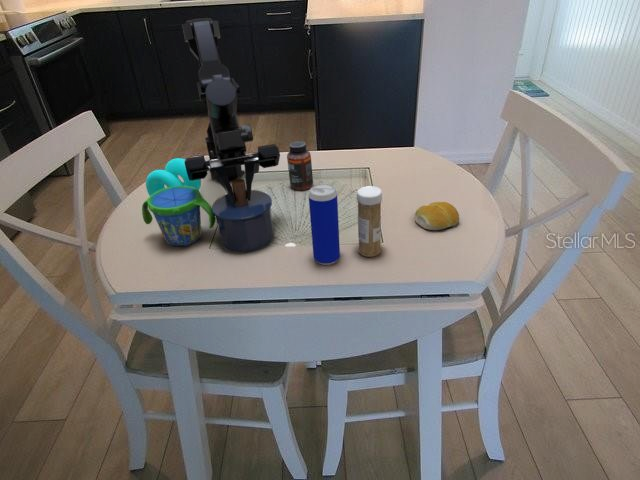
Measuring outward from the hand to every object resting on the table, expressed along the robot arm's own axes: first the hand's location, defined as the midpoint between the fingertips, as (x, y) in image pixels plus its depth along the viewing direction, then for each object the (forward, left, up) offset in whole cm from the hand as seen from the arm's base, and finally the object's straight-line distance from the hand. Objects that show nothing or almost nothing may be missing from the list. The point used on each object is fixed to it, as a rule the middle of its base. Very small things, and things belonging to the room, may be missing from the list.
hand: (242, 201), depth 92 cm
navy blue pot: (-1, +1, -9) cm, 10 cm away
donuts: (-26, +11, -10) cm, 30 cm away
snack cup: (-14, -3, -10) cm, 18 cm away
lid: (-1, +1, -2) cm, 2 cm away
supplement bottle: (0, +27, -10) cm, 29 cm away
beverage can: (+18, -1, -10) cm, 21 cm away
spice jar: (+25, +4, -10) cm, 27 cm away
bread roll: (+36, +19, -10) cm, 41 cm away
